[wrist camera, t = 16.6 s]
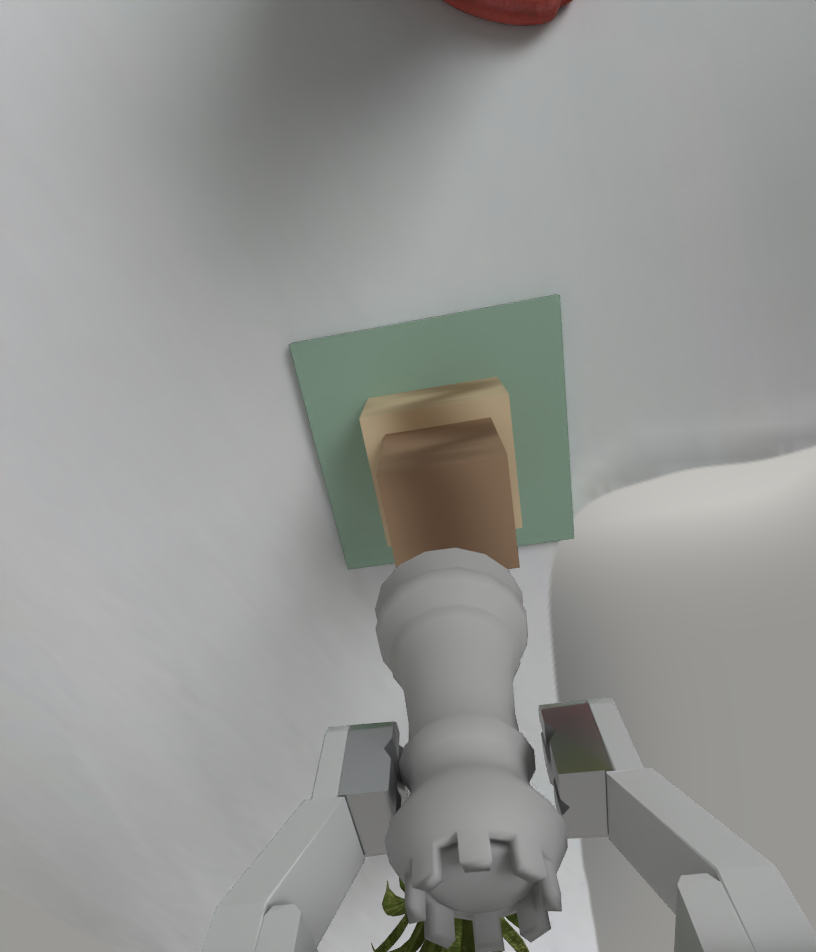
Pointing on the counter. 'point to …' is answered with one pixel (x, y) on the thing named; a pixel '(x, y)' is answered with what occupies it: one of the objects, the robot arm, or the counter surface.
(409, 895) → the rook chess piece
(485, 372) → the build pad
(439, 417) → the oak base block
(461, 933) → the house plant
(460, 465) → the walnut cube
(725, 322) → the counter surface
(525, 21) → the stacking bear
